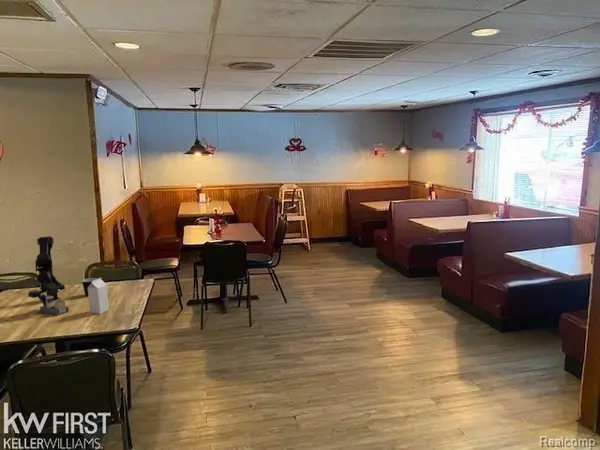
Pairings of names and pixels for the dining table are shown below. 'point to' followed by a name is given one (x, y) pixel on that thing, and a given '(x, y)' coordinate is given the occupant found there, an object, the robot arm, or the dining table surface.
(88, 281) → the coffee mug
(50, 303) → the block
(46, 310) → the rail
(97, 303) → the milk carton
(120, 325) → the dining table surface
